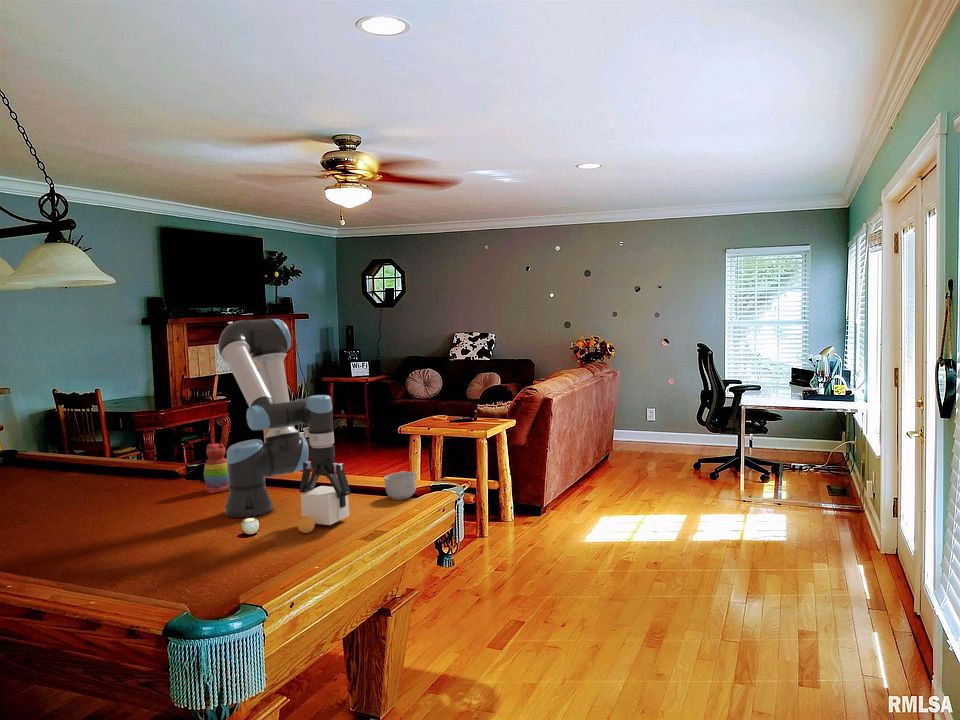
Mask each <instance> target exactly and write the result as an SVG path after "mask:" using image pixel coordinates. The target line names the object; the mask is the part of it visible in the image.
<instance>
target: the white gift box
mask: <svg viewBox="0 0 960 720" xmlns="http://www.w3.org/2000/svg"><path fill="white" fill-rule="evenodd" d="M337 497H338V495H337V493H336V491H335V490H334V488H333V486H327V485H320V486H317V487H314V489H312V490H310V491H307V492H305V493H303V492H301V493H300V502H301V503H300V504H301V518H302V517H304V516H310V517H311V518H313V520H314V522H315V525H316V524H317V525H326V526H331V525H334V524H335V523H337V522H340V521H341V520H343V519H345V518H347V517H349V516H350V503H349V495H347V496H345V501H346V506H345V507H344V515H345V516H344V517H342V518H340V519H337V504H336V498H337Z"/></svg>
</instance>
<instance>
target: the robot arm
mask: <svg viewBox="0 0 960 720" xmlns="http://www.w3.org/2000/svg"><path fill="white" fill-rule="evenodd" d="M291 347H292V337H291V333H290V331H289V327H288V326H287V324H286V323H285V322H284V321H283V320H281V319H279V318H263V319H261V318H259V319H249V320H248V319H246V320H244V319H243V320H242V319H241V320H236V321H234V322H231V323H230V324H228V325H227V326H226V327H225V328H224V329H223V330H222V331H221V334H220V337H219V339H218V351H219V355H220V356H221V358H222V361H223V362H225V364H228V366H229V368H230V370H231V373H232V375H233V376H234V378H235V381H236V383H237V385H238V387H239V389H240V391H241V392H242V395H243V397H244V399H245V401H246V404H247V405H248V408H247V410H246V416H245V417H246V421H247V422H246V423H247V426H248V427H249V429H250V430H252V431H266V430H267V434H266V435H265V437H264V441H263V440H262V439H260V438H259V439H258V438H253V439H249V440H248V439H247V440H243V441H239V442H237V443H234V444H231V445H230V446H229V447H228V448H227V449H226V462H227V468H228V481H229V491H228V493H227V494H228V495H227V500H226V505H225V506H224V515H225V514H226V515H227V516H226V515H225V516H226V517H228V516H229V517H228V518H232V517H235V518H234V519H242V518H243V517H246V518H249V517H248V516H254V517H259V516H261V515H265V514H268V513H270V512H272V510H273V501H272V499H271V498H270V495H269V491H268V489H267V487H266V485H267V484H266V478H269V477H276V476H281V475H282V476H283V475H286V474H293V473H295V472H299V471H302V474H301V481H300V486H299V492H300V493H305V492H307V491H310V490H312V489H314V488H316V487H315V486H316V484H317V482H318V480H319V477H321V476H323V477H326V479H327V480H329V482H330V484H331V487H333V488H334V490H335V491H336V493H337V495H338V497H337V498H336V504H337V519H340V518H342V517H344V516H345V515H344V507H345V506H346V501H345V496H347V495H348V496H349V495H351V494H352V493H351V489H350V485H349V482H348V479H347V476H346V472H345V465H344V463H343V462H340V463H337V462H336V461H335V457H336V451H335V450H336V447H335V445H334V444H335V435H334V434H335V433H334V431H335V430H334V416H333V414H334V413H333V404H332V397H331V396H330V395H329V394H328V395H327V394H316V395H314V394H313V395H310V396H308V397H307V398H297V399H295V400H292V401H290V395H289V389H288V383H287V376H286V371H285V363H284V360H285V358H286V357H287V356H288V353H287V352H288V351H289V350H290V349H291ZM255 363H256V364H257V366H258V367H257V366H256V364H255ZM305 424H306V425H307V426H308V430H307V432H308V441H307V439H306V438H305V437H304V436H301V434H300V431H299V430H298V429H296V428H295V427H294V426H298V425H305ZM308 443H309V444H308ZM309 446H310V447H309ZM309 458H310V459H311V461H310V460H309ZM269 511H270V512H269ZM258 515H259V516H258ZM243 519H244V518H243Z"/></svg>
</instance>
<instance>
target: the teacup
mask: <svg viewBox="0 0 960 720" xmlns="http://www.w3.org/2000/svg"><path fill="white" fill-rule="evenodd" d="M383 480H384V486H385V492H386V494H387V496H388V497H390V498H391V499H393V500H397V501H398V500H399V501H402V500H405V499H406V500H407V499H410V498H411V497H412V496H413V495H414V494H415V493H416V490H417V482H416V481H417V480H416V473H415V472H413V471H403V470H402V471H399V472H392V473H390V474H387V475H385V476H384V477H383Z"/></svg>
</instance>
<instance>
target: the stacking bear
mask: <svg viewBox="0 0 960 720" xmlns="http://www.w3.org/2000/svg"><path fill="white" fill-rule="evenodd" d="M205 453H206V457H207V458H208V459H207V460H206V461H205V463H204V469H203V479H204V482H205V486H206V487H205V491H206V490H208V491H223V490H228V489H229V481H228V468H227V462H226V460H227V458H226V457H225V455H226V453H227V449H226V447H225V446H224V445H223V443H213V444H211V443H208V444H207V445H206V451H205Z"/></svg>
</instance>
